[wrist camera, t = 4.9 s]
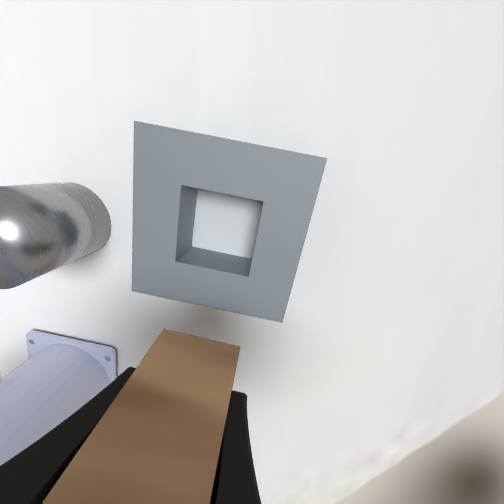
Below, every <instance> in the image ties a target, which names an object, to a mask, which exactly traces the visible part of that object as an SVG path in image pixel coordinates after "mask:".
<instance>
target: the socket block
mask: <svg viewBox="0 0 504 504" xmlns="http://www.w3.org/2000/svg"><path fill="white" fill-rule="evenodd" d="M326 161H327V158H323V157H318V156H313V155H308V154H302V153H297V152H292V151H287V150H282V149H277V148H271V147H266V146H261V145H256V144H251V143H246V142H241V141H235V140H230V139H225V138H220V137H215V136H210V135H204V134H199V133H194V132H189V131H184V130H179V129H173V128H168V127H163V126H158V125H153V124H148V123H143V122H137V121H134V164H133V245H132V291H135V292H139V293H144V294H149V295H154V296H158V297H163V298H168V299H173V300H177V301H182V302H187V303H191V304H196V305H201V306H206V307H210V308H215V309H220V310H225V311H229V312H234V313H239V314H244V315H248V316H253V317H258V318H263V319H267V320H272V321H277V322H283V318H284V315H285V311H286V307H287V304H288V300H289V296H290V293H291V289H292V285H293V282H294V278H295V274H296V271H297V267H298V263H299V260H300V256H301V252H302V249H303V245H304V241H305V238H306V234H307V230H308V227H309V223H310V219H311V216H312V212H313V208H314V205H315V201H316V197H317V194H318V190H319V186H320V183H321V179H322V175H323V172H324V168H325V164H326ZM197 188H199V189H204V190H209V191H214V192H219V193H224V194H229V195H234V196H239V197H244V198H249V199H254V200H259V201H264V202H263V207H262V212H261V217H260V222H259V227H258V232H257V237H256V242H255V248H254V253H253V258H252V259H249V258H244V257H239V256H234V255H229V254H224V253H219V252H214V251H210V250H205V249H200V248H195V247H191V245H192V235H193V225H194V215H195V206H196V196H197Z"/></svg>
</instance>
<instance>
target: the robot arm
mask: <svg viewBox="0 0 504 504" xmlns="http://www.w3.org/2000/svg"><path fill="white" fill-rule="evenodd" d="M26 340H27V345H28V351H29V357H30V358H29V359H28V360H27V361H25V362H24V363H23V364H21V365H20V366H19V367H17V368H16V369H15V370H14V371H12V372H11V373H10V374H8V375H7V376H6V377H4V378H3V379H2V380H1V381H0V504H43V503H42V502H43V501H44V500H45V498H46V497H47V495H48V494H49V492H50V491H51V490H52V488H53V487H54V485H55V484H56V482H57V481H58V480H59V478H60V477H61V475H62V474H63V472H64V471H65V470H66V468H67V467H68V465H69V464H70V462H71V461H72V460H73V458H74V457H75V455H76V454H77V452H78V451H79V450H80V448H81V447H82V445H83V444H84V442H85V441H86V439H87V438H88V437H89V435H90V434H91V432H92V431H93V429H94V428H95V427H96V425H97V424H98V422H99V421H100V419H101V418H102V417H103V415H104V414H105V412H106V411H107V409H108V408H109V407H110V405H111V404H112V402H113V401H114V399H115V398H116V397H117V395H118V394H119V392H120V391H121V389H122V388H123V387H124V385H125V384H126V382H127V381H128V379H129V378H130V377H131V375H132V374H133V372H134V371H135V369H136V368H133V367H129V368H127V369H126V370H125V371H124V372H123V373H122V374H121V375H119V376H118V377H117V378H116V352H115V349H114V348H112V347H109V346H104V345H99V344H95V343H90V342H86V341H81V340H76V339H72V338H67V337H63V336H58V335H53V334H49V333H44V332H40V331H35V330H31V331H29V332H28V333H27V334H26ZM210 504H261V501H260V496H259V491H258V486H257V481H256V476H255V470H254V465H253V459H252V452H251V445H250V438H249V430H248V419H247V395H246V394H245V393H241V392H237V391H233V390H232V391H231V396H230V401H229V406H228V412H227V417H226V422H225V427H224V432H223V437H222V442H221V447H220V452H219V457H218V462H217V468H216V473H215V478H214V483H213V488H212V493H211V498H210Z"/></svg>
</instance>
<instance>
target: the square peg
mask: <svg viewBox="0 0 504 504" xmlns="http://www.w3.org/2000/svg"><path fill="white" fill-rule="evenodd" d="M239 350H240V347H239V346H235V345H230V344H226V343H222V342H217V341H213V340H209V339H204V338H200V337H196V336H191V335H187V334H182V333H178V332H174V331H169V330H165V329H163V331H162V332H161V334H160V335H159V337H158V338H157V339H156V341H155V342H154V344H153V345H152V347H151V348H150V349H149V351H148V352H147V354H146V355H145V357H144V358H143V359H142V361H141V362H140V364H139V365H138V367H137V368H136V369H135V371H134V372H133V374H132V375H131V377H130V378H129V379H128V381H127V382H126V384H125V385H124V387H123V388H122V389H121V391H120V392H119V394H118V395H117V397H116V398H115V399H114V401H113V402H112V404H111V405H110V407H109V408H108V409H107V411H106V412H105V414H104V415H103V417H102V418H101V419H100V421H99V422H98V424H97V425H96V427H95V428H94V429H93V431H92V432H91V434H90V435H89V437H88V438H87V439H86V441H85V442H84V444H83V445H82V447H81V448H80V450H79V451H78V452H77V454H76V455H75V457H74V458H73V460H72V461H71V462H70V464H69V465H68V467H67V468H66V470H65V471H64V472H63V474H62V475H61V477H60V478H59V480H58V481H57V482H56V484H55V485H54V487H53V488H52V490H51V491H50V492H49V494H48V495H47V497H46V498H45V500H44V501H43V502H42V503H43V504H209V503H210V498H211V493H212V488H213V483H214V478H215V473H216V468H217V462H218V457H219V452H220V447H221V442H222V437H223V432H224V427H225V422H226V417H227V412H228V406H229V401H230V396H231V391H232V386H233V381H234V376H235V371H236V366H237V361H238V356H239Z"/></svg>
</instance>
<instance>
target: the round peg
mask: <svg viewBox="0 0 504 504" xmlns="http://www.w3.org/2000/svg"><path fill="white" fill-rule="evenodd" d="M110 233H111V220H110V216H109V213H108V211H107V209H106V207H105V205H104V203H103V202H102V201H101V199H100V198H99V197H98V196H97V195H96V194H95V193H94V192H92V191H91V190H89V189H88V188H86V187H84V186H82V185H80V184H76V183H50V184H32V185H15V186H0V289H9V288H13V287H16V286H18V285H21V284H23V283H25V282H27V281H30V280H32V279H34V278H36V277H39V276H41V275H43V274H45V273H47V272H50V271H52V270H54V269H56V268H59V267H61V266H63V265H65V264H67V263H70V262H72V261H74V260H76V259H79V258H81V257H83V256H85V255H88V254H90V253H92V252H94V251H96V250H99V249H100V248H102V247H103V246H104V245H105V244H106V242H107V241H108V239H109V237H110Z"/></svg>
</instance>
